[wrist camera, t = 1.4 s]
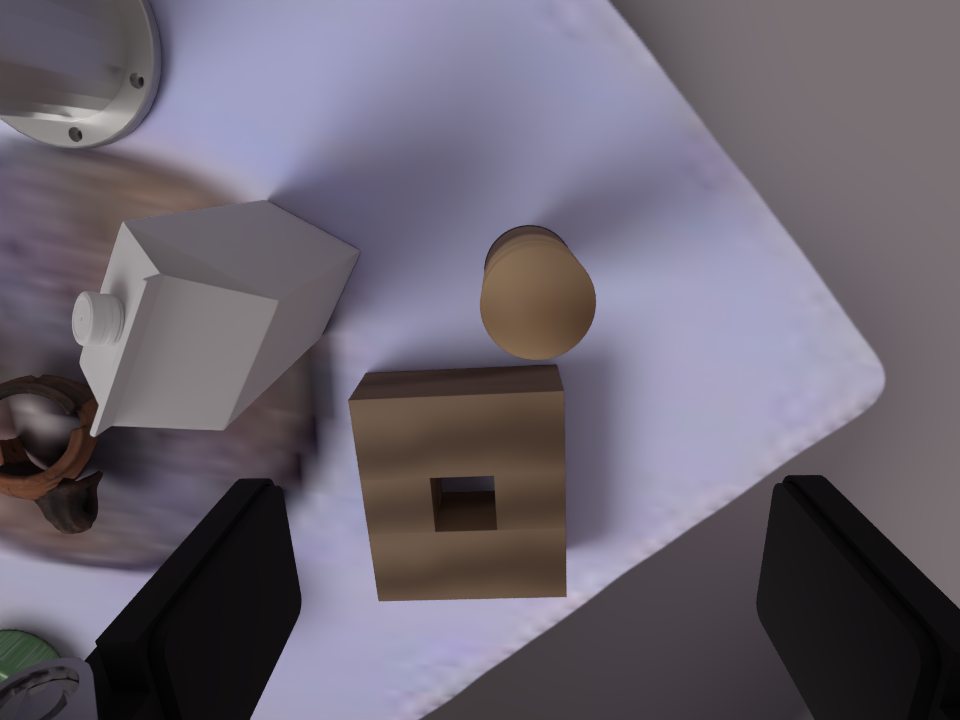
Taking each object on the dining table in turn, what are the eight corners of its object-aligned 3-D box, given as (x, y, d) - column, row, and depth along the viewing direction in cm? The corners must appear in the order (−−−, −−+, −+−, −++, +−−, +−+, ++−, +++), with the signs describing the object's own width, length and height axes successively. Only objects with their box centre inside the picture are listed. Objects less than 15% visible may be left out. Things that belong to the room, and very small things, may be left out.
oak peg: (484, 220, 37) (475, 249, 24) (563, 215, 37) (597, 242, 24) (488, 298, 39) (482, 363, 26) (564, 294, 38) (596, 358, 26)
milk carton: (362, 250, 38) (238, 326, 20) (321, 337, 40) (177, 476, 22) (265, 198, 37) (45, 230, 19) (229, 290, 39) (2, 396, 21)
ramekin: (12, 607, 50) (-33, 647, 46) (91, 668, 52) (56, 712, 48) (-44, 653, 52) (-91, 696, 48) (35, 710, 54) (-4, 755, 50)
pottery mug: (-15, 413, 44) (-92, 410, 36) (108, 358, 46) (62, 344, 38) (59, 546, 44) (-1, 572, 36) (178, 484, 47) (146, 496, 39)
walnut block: (365, 373, 41) (348, 400, 36) (556, 364, 40) (564, 390, 35) (391, 556, 46) (378, 601, 42) (559, 552, 46) (566, 596, 41)
